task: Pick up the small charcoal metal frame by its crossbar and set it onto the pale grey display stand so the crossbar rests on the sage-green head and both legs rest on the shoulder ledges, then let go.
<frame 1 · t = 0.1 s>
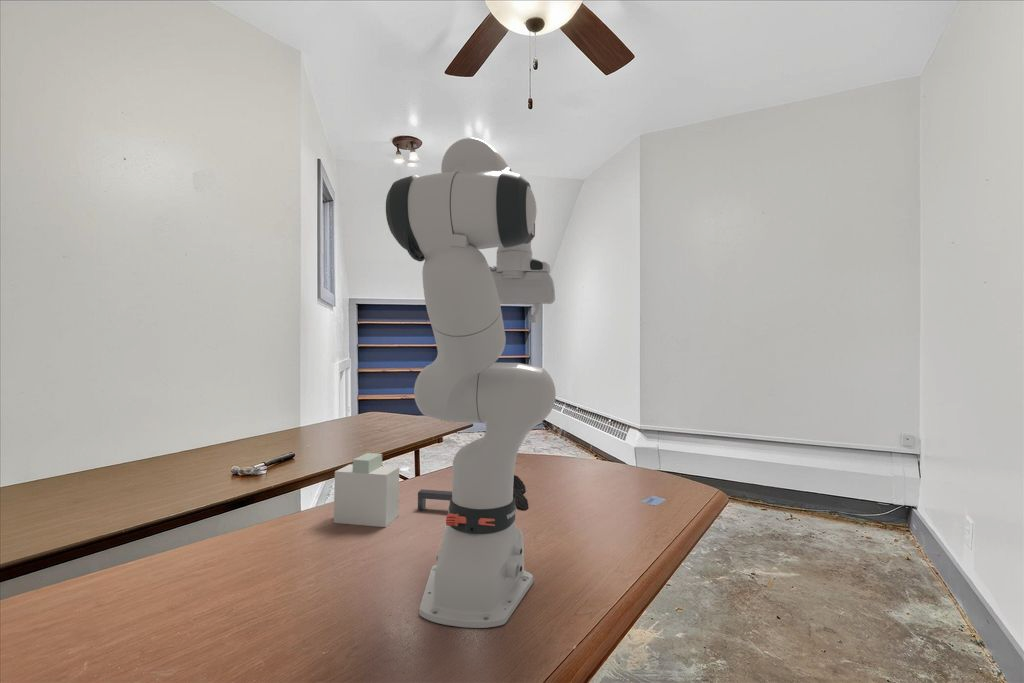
hand: (513, 322, 116), 48 cm above the table, tool pointing down, fingers open, 8 cm apart
frame: (438, 509, 120), on the table
stand: (366, 519, 113), on the table
hairbrush: (515, 497, 133), on the table
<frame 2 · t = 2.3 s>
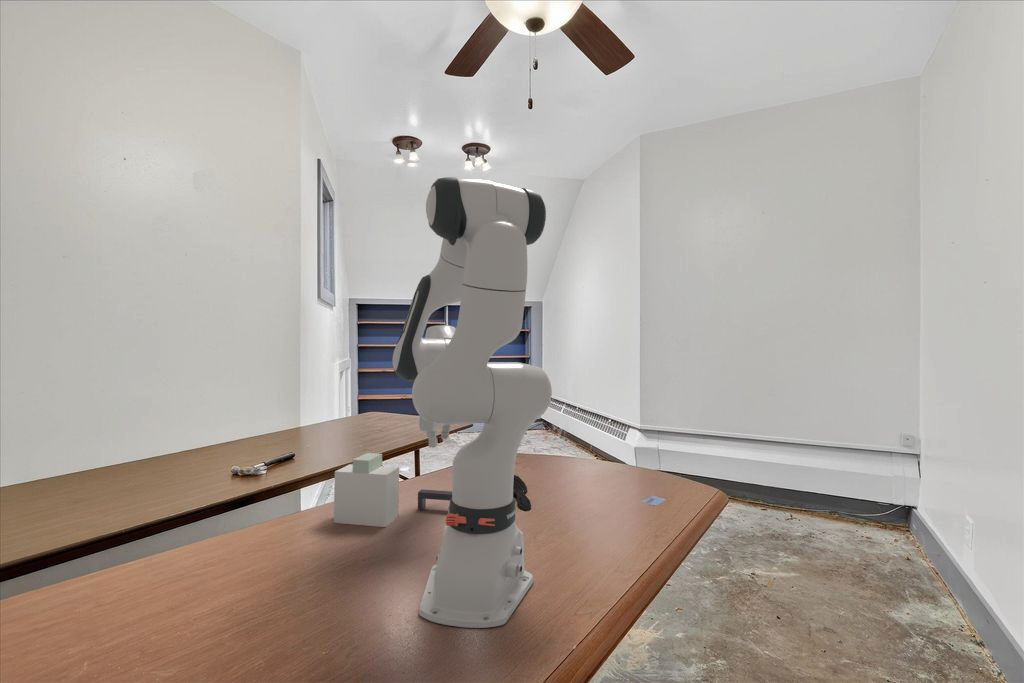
hand: (439, 442, 120), 17 cm above the table, tool pointing down, fingers open, 8 cm apart
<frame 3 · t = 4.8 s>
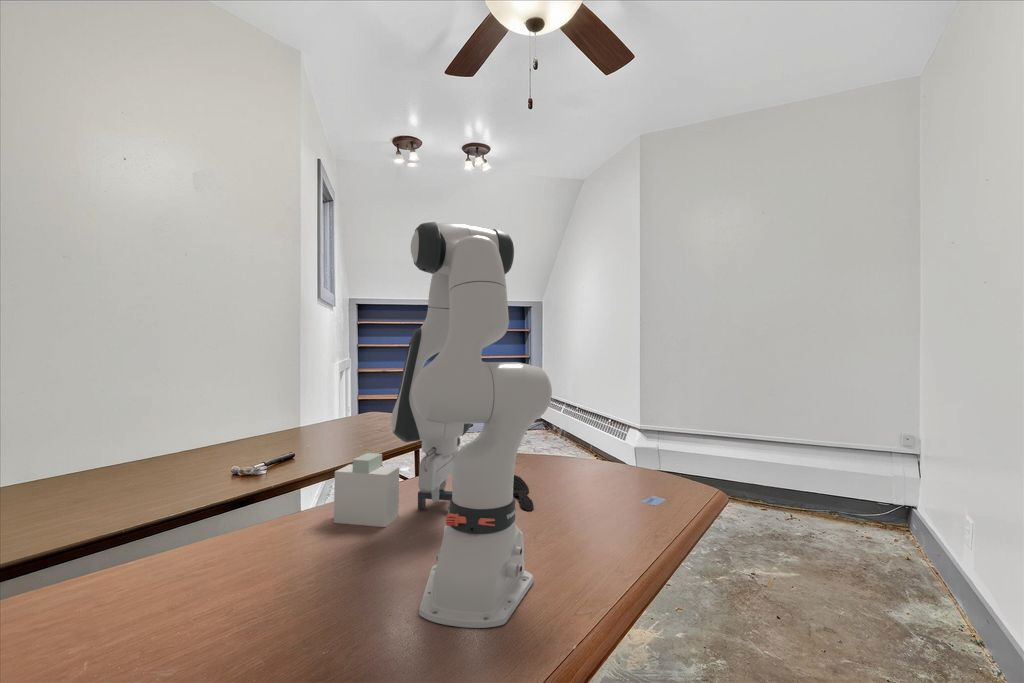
hand: (438, 498, 120), 3 cm above the table, tool pointing down, fingers closed on frame, 2 cm apart
frame: (438, 509, 120), on the table, touching gripper
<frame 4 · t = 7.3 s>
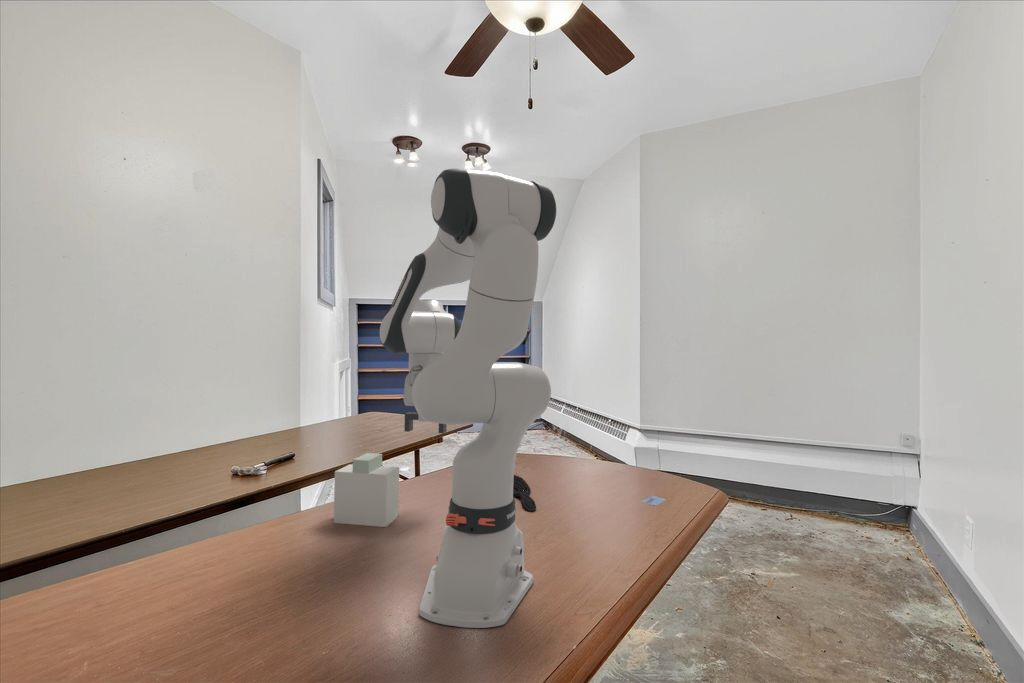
hand: (425, 419, 119), 23 cm above the table, tool pointing down, fingers closed on frame, 2 cm apart
frame: (425, 431, 119), point 20 cm above the table, touching gripper
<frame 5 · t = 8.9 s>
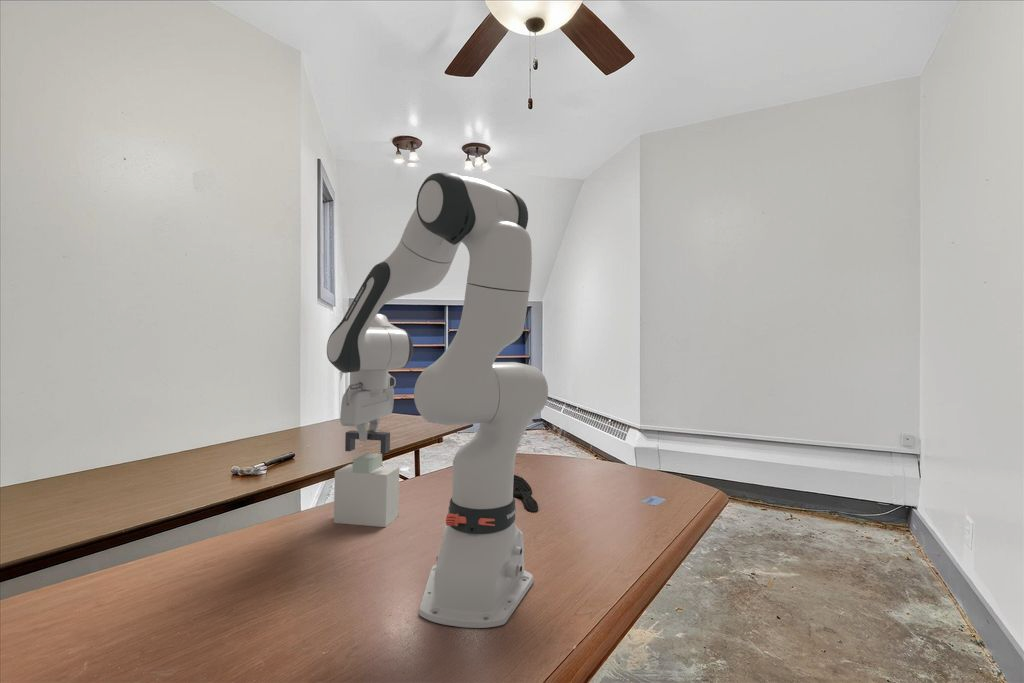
hand: (367, 439, 113), 19 cm above the table, tool pointing down, fingers closed on frame, 2 cm apart
frame: (367, 451, 113), point 16 cm above the table, touching gripper
when the fingers open (16 cm above the table, at t = 10.0 s): frame drops 1 cm, resting on stand.
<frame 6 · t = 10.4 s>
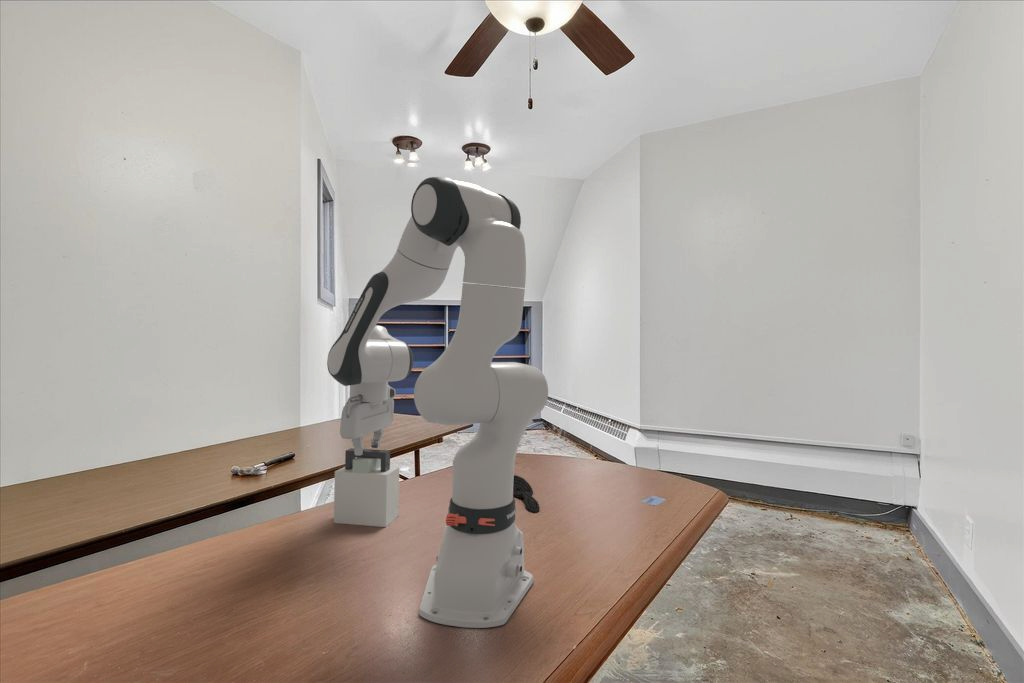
hand: (368, 451, 113), 16 cm above the table, tool pointing down, fingers open, 7 cm apart
frame: (367, 469, 113), point 12 cm above the table, touching stand
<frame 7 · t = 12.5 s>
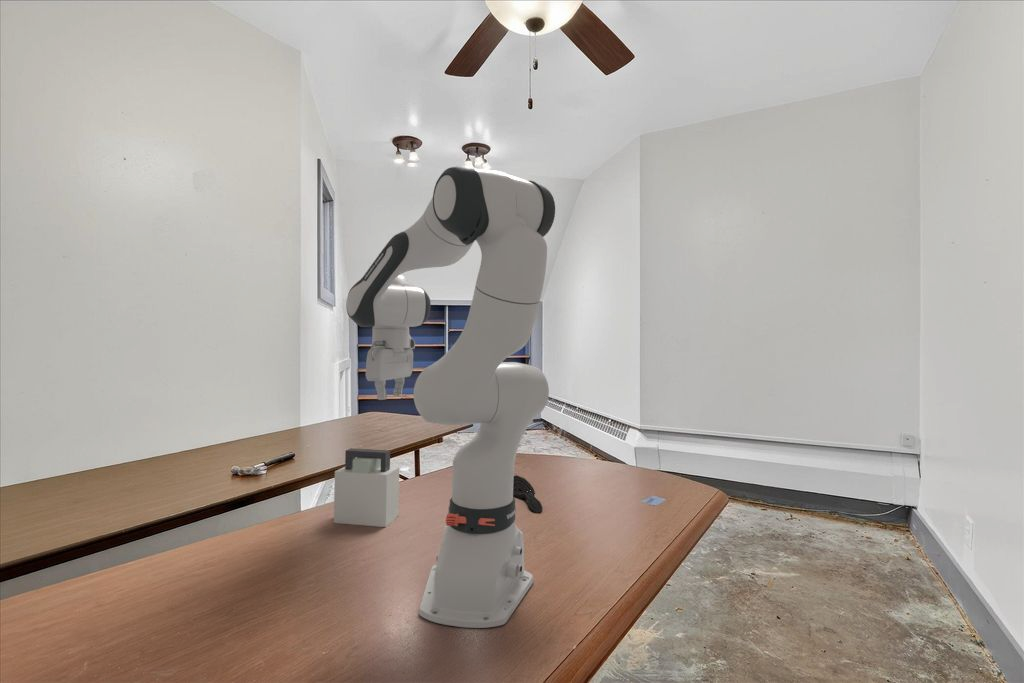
hand: (390, 397, 116), 29 cm above the table, tool pointing down, fingers open, 8 cm apart
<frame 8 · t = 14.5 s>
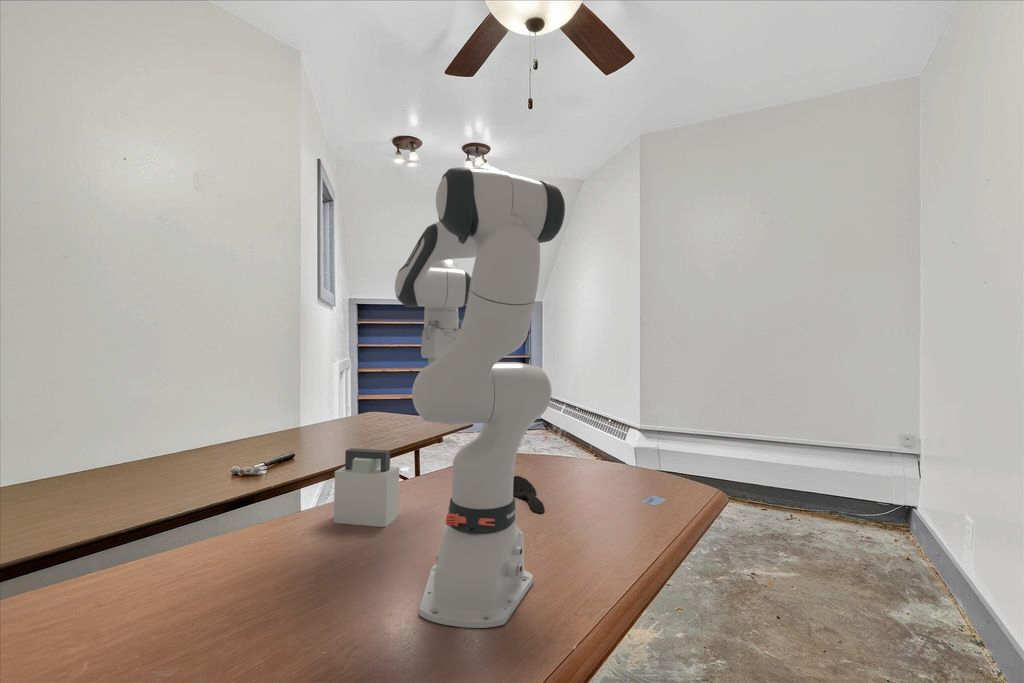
hand: (440, 375, 123), 34 cm above the table, tool pointing down, fingers open, 8 cm apart
at the end: frame 0.0 cm off-centre on the stand, point 12.0 cm above the stand's base; frame tilted 0°; the gripper is holding nothing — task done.
